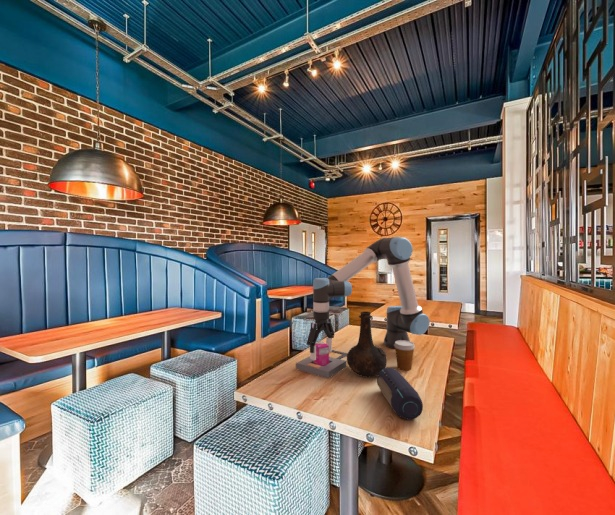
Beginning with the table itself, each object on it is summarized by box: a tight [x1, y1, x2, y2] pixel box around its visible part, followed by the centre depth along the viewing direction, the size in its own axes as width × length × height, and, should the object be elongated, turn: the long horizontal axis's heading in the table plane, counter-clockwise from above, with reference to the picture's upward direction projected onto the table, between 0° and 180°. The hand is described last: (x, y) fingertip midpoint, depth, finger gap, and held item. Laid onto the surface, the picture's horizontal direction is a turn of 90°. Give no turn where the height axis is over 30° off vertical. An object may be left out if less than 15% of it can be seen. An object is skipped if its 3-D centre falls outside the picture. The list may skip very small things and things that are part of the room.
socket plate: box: [295, 355, 347, 379], centre depth 142 cm, size 18×16×3 cm
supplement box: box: [313, 341, 330, 366], centre depth 142 cm, size 6×6×12 cm
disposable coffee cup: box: [394, 340, 416, 372], centre depth 142 cm, size 10×10×12 cm
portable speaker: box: [376, 366, 424, 421], centre depth 108 cm, size 25×10×10 cm, turn 3°
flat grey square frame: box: [331, 349, 348, 360], centre depth 159 cm, size 15×15×1 cm
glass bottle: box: [346, 311, 387, 378], centre depth 136 cm, size 18×18×28 cm
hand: (321, 355), depth 142 cm, fingers open, 13 cm apart
